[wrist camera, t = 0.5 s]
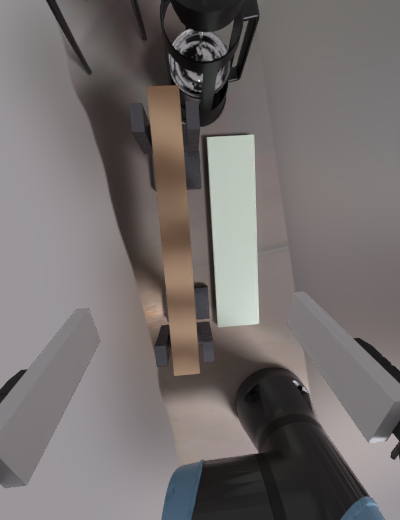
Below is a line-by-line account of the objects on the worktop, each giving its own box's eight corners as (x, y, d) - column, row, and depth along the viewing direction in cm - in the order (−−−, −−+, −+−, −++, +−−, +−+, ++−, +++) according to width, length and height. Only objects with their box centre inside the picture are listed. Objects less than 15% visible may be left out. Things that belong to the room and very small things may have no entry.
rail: (199, 357, 25) (200, 373, 22) (176, 359, 25) (174, 376, 22) (180, 106, 21) (178, 85, 18) (153, 107, 21) (146, 86, 18)
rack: (208, 315, 37) (222, 375, 21) (168, 319, 37) (151, 382, 21) (198, 153, 33) (205, 79, 17) (152, 155, 33) (117, 82, 17)
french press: (174, 133, 33) (135, -99, 10) (159, 73, 31) (76, -354, 9) (240, 117, 33) (352, -148, 10) (228, 57, 31) (327, -406, 9)
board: (256, 321, 38) (258, 323, 37) (217, 324, 38) (217, 327, 36) (251, 138, 33) (254, 134, 32) (206, 140, 33) (207, 137, 32)
